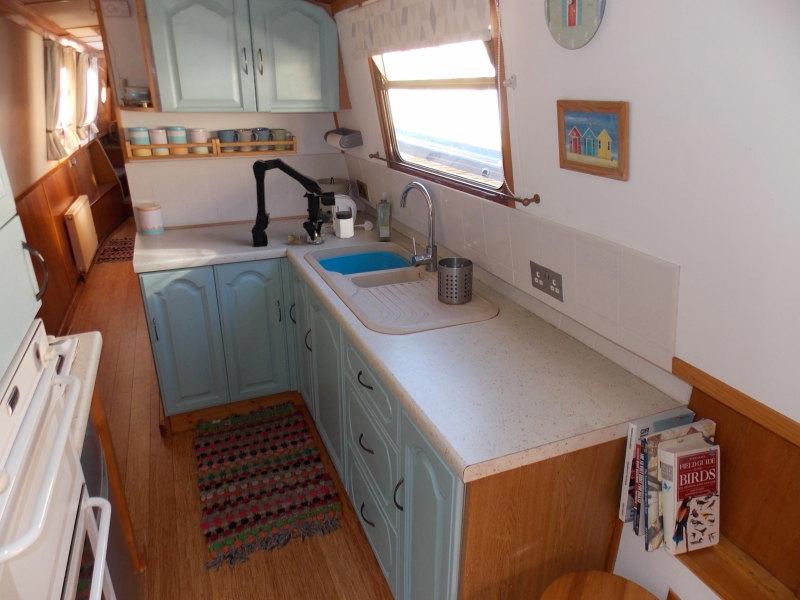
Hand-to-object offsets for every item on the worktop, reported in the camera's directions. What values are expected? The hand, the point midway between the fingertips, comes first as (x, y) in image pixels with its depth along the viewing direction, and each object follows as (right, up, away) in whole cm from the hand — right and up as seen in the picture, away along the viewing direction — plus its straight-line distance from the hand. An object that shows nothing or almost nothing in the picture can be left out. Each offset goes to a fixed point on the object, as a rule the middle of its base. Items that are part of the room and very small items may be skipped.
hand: (315, 238), depth 274 cm
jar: (+13, +2, +12) cm, 18 cm away
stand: (-10, -3, -1) cm, 11 cm away
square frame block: (0, -1, 0) cm, 1 cm away
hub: (0, -2, +1) cm, 2 cm away
